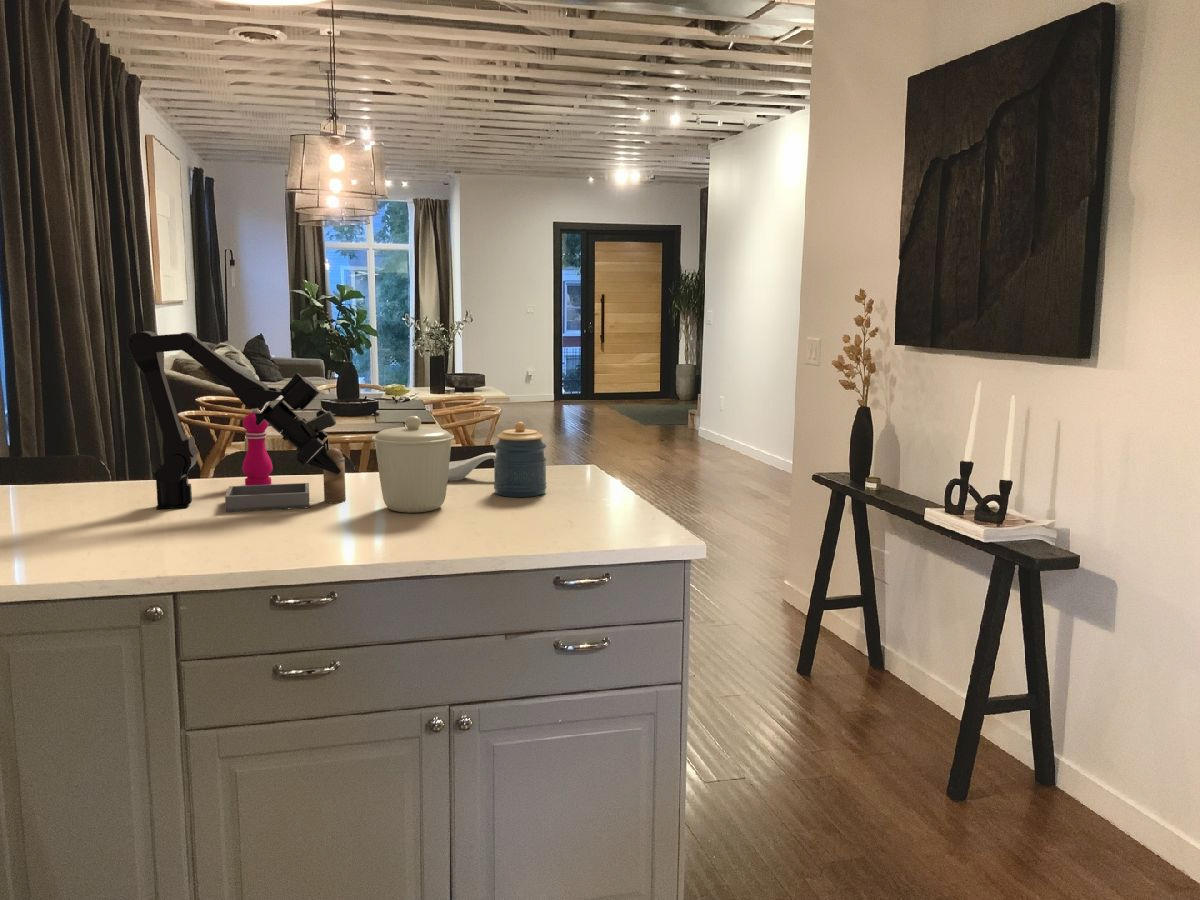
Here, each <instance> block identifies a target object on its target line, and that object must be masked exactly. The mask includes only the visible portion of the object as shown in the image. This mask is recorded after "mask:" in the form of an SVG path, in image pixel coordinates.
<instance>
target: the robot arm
mask: <svg viewBox="0 0 1200 900" xmlns="http://www.w3.org/2000/svg"><path fill="white" fill-rule="evenodd" d="M126 345H127V349H128V352H129V354H130V356H131V358H132V360H133V361H134V363H135V365H136V366H137V367H138V368H139V370H140V372H141V374H142V375H143V377H144V380H145V384H146V387H147V390H148V393H149V397H150V399H151V402H152V406H153V409H154V412H155V416H156V419H157V423H158V426H159V428H160V433H161V435H162V442H161V444H162V446H161V447H162V449H161V451H162V460H163V464H162V465H161V466H160V467H158V468H157V469H156V470H155V471H154V472H153V477H154V479H155V485H156V486H155V487H156V498H157V499H156V500H157V505H156V506H155V509H157V510H158V509H159V510H160V509H161V510H162V509H183V508H188V507H189V506H190V504H191V503H192V502H193V496H192V495H193V493H192V491H193V490H192V483H189V477H188V473H189V472H190V470H191V468H193V467H194V466H195V465H196V463H197V461H198V454H199V453H200V451H199V450H198V449H197V447H196V441H195V440H196V439H195V436H194V435H192V436H190V437H188V436H187V435H186V434H185V431H184V430H183V428H182V425H181V421H180V419H179V416H178V412H177V408H176V405H175V402H174V399H173V396H172V392H171V389H170V386H169V381H168V379H167V376H166V373H165V352H178V351H183V352H184V353H186V355H188V356H189V357H190V358H192V359H193V360H194V361H196V362H197V363H199V364H200V365H201V366H203V367H204V368H206V370H207V371H209V372H210V373H212V375H214V376H216V377H217V378H218V379H220V380H221V381H222V382H223V383H225V384H226V386H228V388H230V390H231V391H232V392H233V394H234V395H235V396H236V397H237V398H238V400H239V401H240V402H241V403H242V404H243V405H244V406H245V407H247V408H248V409H257V408H258V409H260V408H262V407H264V406H265V405H266V404H267V403H269V402H274V401H276V400H277V399H279V398H280V397H281V396H282V398H281V399H280V400H279V401H278V402H277V403H276V404H275V405H273V404H271V403H269V404H268V405H267V406H266V407H265V408H264V409H263V410H262V411H261V412H259V411H258V412H257V413H255V416H256V425H259V424H261V423H262V422H263V421H264V420H265V421H266V422H267V423H268V425H270V426H271V427H272V428H273V430H275V431H276V432H277V433H278V434H280V436H282V439H283V440H284V441H285V442H286V441H288V442H289V443H290V444H291V445H292V446H293V447H294V448H295V451H296V461H298V462H299V463H300V464H302V466H304V465H305V464H306V465H309V466H311V467H312V466H313V467H316V468H319V469H321V470H323V469H324V470H327V471H330V472H332V473H335V474H339V473H340V472H341V470H340V469H339V467H338V466H337V465H336V464H335V462H334V461H333V460H332V459H331V457H330V456H329V455H328V454H327V450H329V449H330V439H329V434H328V433H327V432H326V431H325V430H326V429H327V428H331V427H334V426H336V425H337V421H336V419H335V417H334V414H333V413H332V411H331V410H328V411H326V410H325V409H323V408H322V409H320V410H318V411H316V416H315V417H313V418H312V419H309V420H307V419H306V418H305V417H300V416H298V414H296V413H295V412H294V411H298V410H302V411H304V410H305V409H306V408H307V407H308V406H309V405H310V404H311V403H312V402H313V401H314V400H315V399H316V398H317V397H318V396H319V395H320V394H321V391H320V390H319V389H318V388H317V387H316V386H315V384H313V383H312V382H311V381H309V380H307V379H306V378H305V377H303V376H302V375H301V374H300V373H299V372H297V373H295V374H294V375H293V376H292V377H291V379H290V381H288V383H286V384H285V385H284V386H283V387H282V388H279V387H270V386H268V385H267V384H266V383H264V382H263V381H260V380H259V379H257V378H256V377H253V376H251V375H249V374H246V373H244V372H243V371H241V370H239V369H237V368H236V367H235V366H234V365H232V364H231V363H229V361H227V360H225V358H223V357H222V356H221V355H219V354H218V353H216V351H215V350H213V349H211V348H210V347H209V346H207V344H205V343H204V342H203V341H201V340H200V339H199V338H198V337H197V336H196V335H195V334H194V333H192V332H188V331H186V332H180V333H171V334H157V333H155V332H154V331H150V330H148V331H137V332H135V333H133V334H132V335H130V337H129V338H128V340H127V344H126ZM284 402H285V403H284ZM291 408H292V409H293V410H294V411H293V410H292V409H291ZM327 437H328V438H327ZM326 438H327V439H326ZM324 440H325V441H324Z"/></svg>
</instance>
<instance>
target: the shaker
mask: <svg viewBox="0 0 1200 900" xmlns="http://www.w3.org/2000/svg"><path fill="white" fill-rule="evenodd" d="M327 454H328V455H329V456H330V457H331V459H332V460H333V461H334V462H335V464H336V465H337V466H338V467H339V469H340V470H341V472H340V473H339V474H335V473H332V472H330V471H327V470H324V469H322V470H323V472H322V473H323V475H322V476H323V496H324V497H323V499H324V500H323V501H326V502H340V503H343V502H342V501H344V502H346V501H345V500H347V499H346V498H347V497H346V467H345V461H346V460H345V459H346V458H345V457H344V456H343V453H342V451H341V450H340V449H339V448H336V447H331V448H329V450H327ZM326 502H325V503H326Z"/></svg>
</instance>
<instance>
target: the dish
mask: <svg viewBox="0 0 1200 900" xmlns="http://www.w3.org/2000/svg"><path fill="white" fill-rule="evenodd" d="M224 499H225V500H224V503H225V513H235V512H237V513H238V512H239V513H240V511H242V512H254V511H253V510H261V511H273V510H272V509H281V510H289V509H288V508H301V509H306V508H305V507H310V503H309V502H310V482H299V483H297V482H296V483H273V484H272V483H271V484H270V485H246V486H245V485H230V486H228V489H227V491H226V493H225V495H224Z"/></svg>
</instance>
